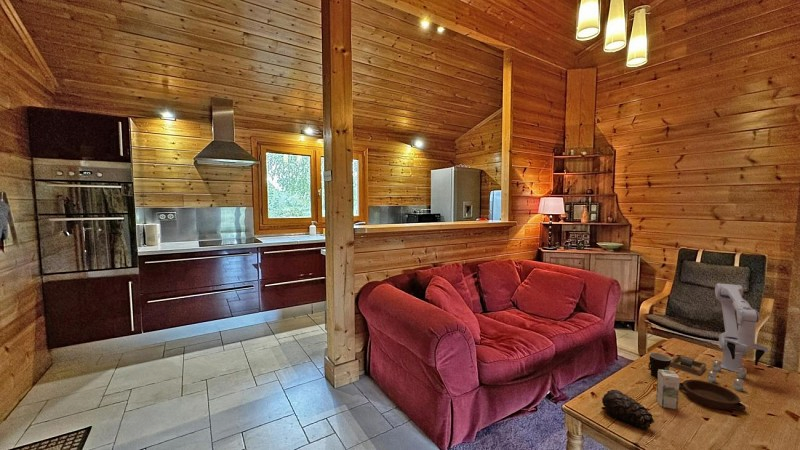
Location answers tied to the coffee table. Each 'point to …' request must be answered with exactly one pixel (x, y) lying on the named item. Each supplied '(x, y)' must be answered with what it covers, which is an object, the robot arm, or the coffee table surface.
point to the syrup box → (667, 389)
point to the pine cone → (627, 410)
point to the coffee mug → (658, 363)
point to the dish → (711, 395)
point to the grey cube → (687, 362)
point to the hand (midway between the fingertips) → (744, 361)
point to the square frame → (688, 369)
